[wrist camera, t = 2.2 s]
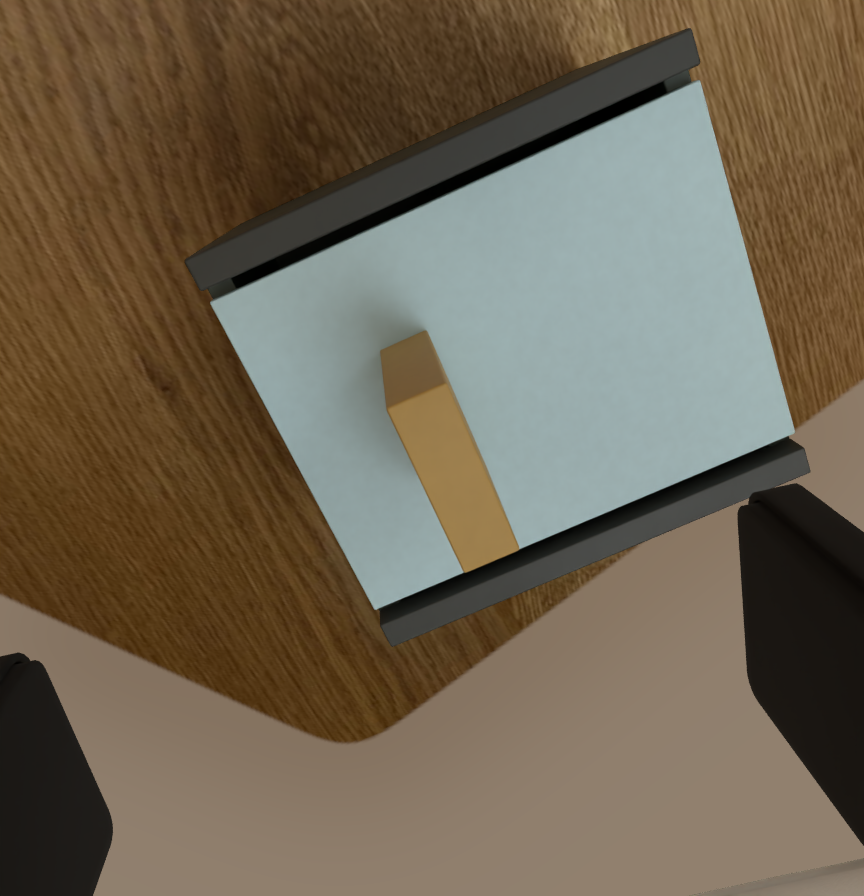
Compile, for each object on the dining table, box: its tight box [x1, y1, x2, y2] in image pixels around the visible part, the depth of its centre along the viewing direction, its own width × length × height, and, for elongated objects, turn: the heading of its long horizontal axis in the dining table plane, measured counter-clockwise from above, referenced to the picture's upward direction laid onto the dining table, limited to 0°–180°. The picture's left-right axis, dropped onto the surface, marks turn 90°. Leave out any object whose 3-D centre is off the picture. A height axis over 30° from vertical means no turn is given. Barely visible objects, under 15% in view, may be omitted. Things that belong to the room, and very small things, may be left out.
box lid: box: [210, 80, 795, 610], centre depth 23 cm, size 16×12×6 cm
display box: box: [185, 28, 810, 647], centre depth 31 cm, size 16×15×12 cm
